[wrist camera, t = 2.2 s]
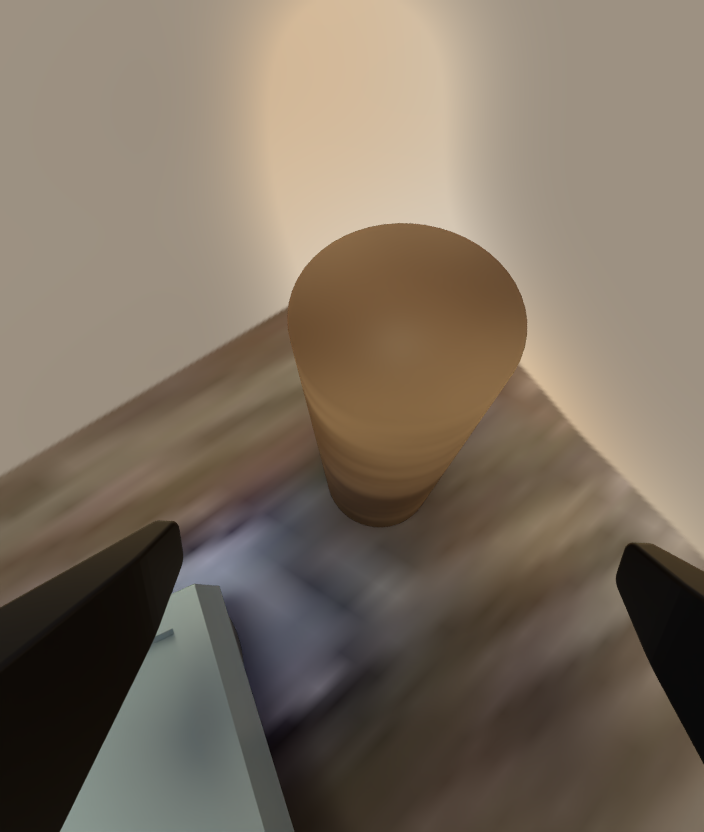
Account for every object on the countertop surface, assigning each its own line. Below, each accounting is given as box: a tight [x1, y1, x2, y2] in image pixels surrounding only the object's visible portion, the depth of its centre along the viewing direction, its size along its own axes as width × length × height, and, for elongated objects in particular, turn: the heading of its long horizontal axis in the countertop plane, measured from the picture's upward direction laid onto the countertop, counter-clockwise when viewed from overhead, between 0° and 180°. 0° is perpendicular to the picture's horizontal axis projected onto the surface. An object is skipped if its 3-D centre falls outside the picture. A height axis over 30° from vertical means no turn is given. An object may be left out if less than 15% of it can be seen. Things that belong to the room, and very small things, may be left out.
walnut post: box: [287, 223, 527, 527], centre depth 15 cm, size 5×5×13 cm
